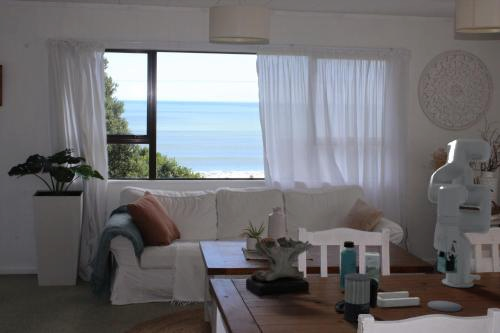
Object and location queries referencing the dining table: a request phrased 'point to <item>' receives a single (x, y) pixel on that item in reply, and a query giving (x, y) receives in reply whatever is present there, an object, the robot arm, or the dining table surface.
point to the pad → (444, 306)
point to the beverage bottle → (347, 262)
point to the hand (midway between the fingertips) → (445, 268)
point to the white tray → (396, 299)
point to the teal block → (443, 265)
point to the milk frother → (358, 296)
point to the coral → (279, 269)
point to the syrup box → (372, 265)
